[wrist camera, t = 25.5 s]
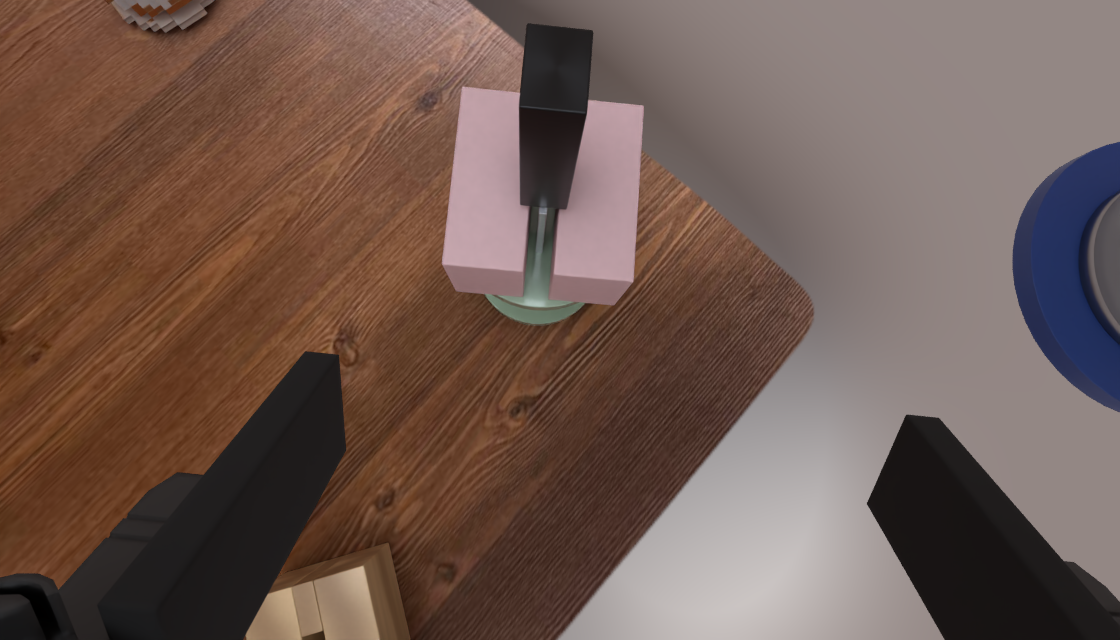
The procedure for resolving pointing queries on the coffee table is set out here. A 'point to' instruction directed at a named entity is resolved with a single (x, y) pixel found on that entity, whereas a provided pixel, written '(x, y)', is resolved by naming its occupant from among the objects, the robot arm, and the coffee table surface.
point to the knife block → (335, 601)
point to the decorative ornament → (161, 12)
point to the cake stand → (536, 284)
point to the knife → (552, 115)
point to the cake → (503, 224)
